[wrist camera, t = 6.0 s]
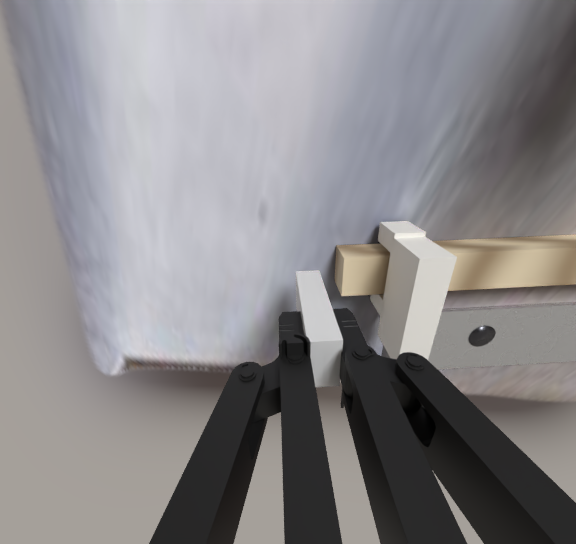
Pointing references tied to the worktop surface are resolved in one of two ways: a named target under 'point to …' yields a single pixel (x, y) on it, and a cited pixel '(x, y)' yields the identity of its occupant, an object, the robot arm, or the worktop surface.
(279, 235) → the worktop surface
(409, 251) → the slider
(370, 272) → the beam
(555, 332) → the hole plate
